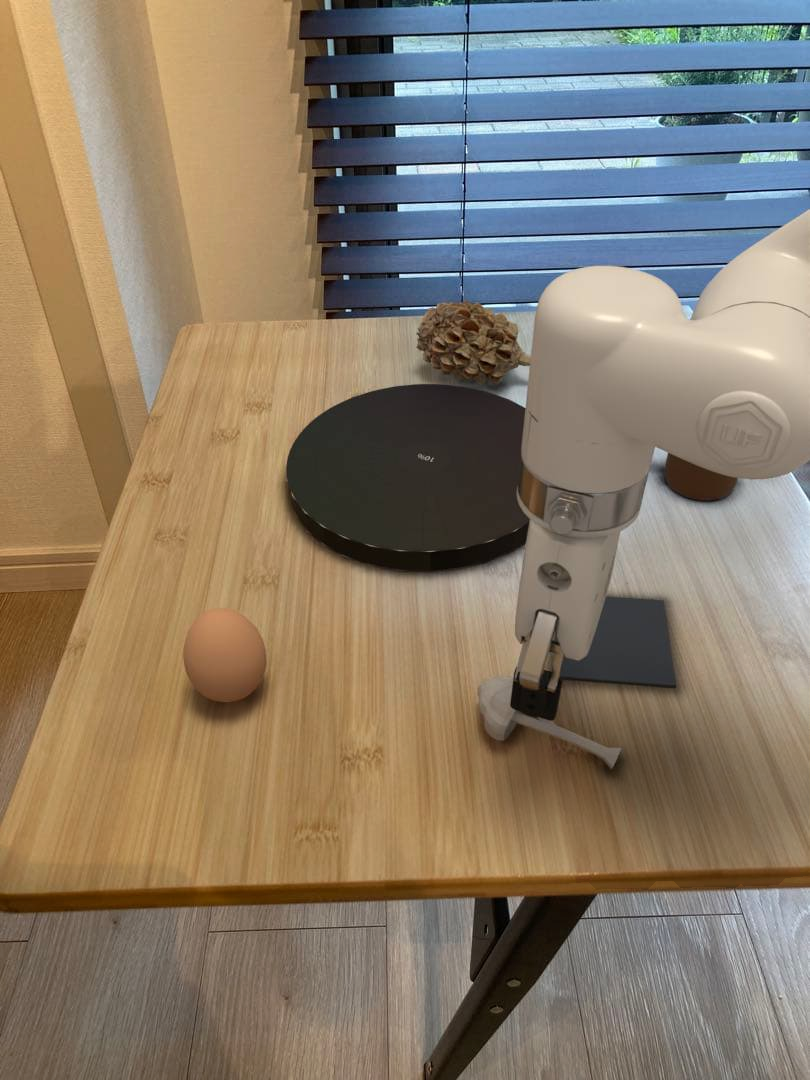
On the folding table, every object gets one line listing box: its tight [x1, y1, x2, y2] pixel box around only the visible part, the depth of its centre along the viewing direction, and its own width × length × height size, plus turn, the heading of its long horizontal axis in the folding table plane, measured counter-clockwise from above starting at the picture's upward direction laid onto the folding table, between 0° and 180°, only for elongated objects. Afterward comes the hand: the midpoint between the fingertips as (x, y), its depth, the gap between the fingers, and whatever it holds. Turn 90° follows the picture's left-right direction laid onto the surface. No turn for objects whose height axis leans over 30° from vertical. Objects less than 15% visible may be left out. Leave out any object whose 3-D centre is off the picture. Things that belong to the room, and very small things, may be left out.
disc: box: [285, 383, 530, 572], centre depth 92 cm, size 30×30×3 cm
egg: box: [182, 607, 267, 703], centre depth 69 cm, size 7×7×9 cm
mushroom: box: [476, 675, 622, 770], centre depth 67 cm, size 7×5×12 cm
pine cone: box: [415, 300, 531, 386], centre depth 104 cm, size 22×10×10 cm, turn 74°
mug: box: [663, 452, 739, 501], centre depth 90 cm, size 12×8×9 cm, turn 63°
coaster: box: [555, 595, 677, 688], centre depth 75 cm, size 10×10×1 cm
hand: (550, 661), depth 62 cm, fingers open, 9 cm apart
